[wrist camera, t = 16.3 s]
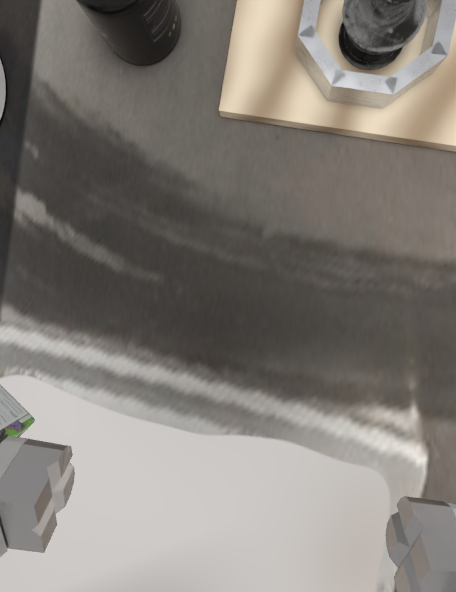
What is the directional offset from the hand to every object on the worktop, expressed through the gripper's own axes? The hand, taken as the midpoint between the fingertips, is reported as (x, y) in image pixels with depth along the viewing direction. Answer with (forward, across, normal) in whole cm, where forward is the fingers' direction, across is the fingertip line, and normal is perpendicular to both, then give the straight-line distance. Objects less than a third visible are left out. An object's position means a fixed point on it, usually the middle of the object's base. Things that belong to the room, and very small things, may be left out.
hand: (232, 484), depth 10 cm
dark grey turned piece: (+34, -7, -11) cm, 36 cm away
